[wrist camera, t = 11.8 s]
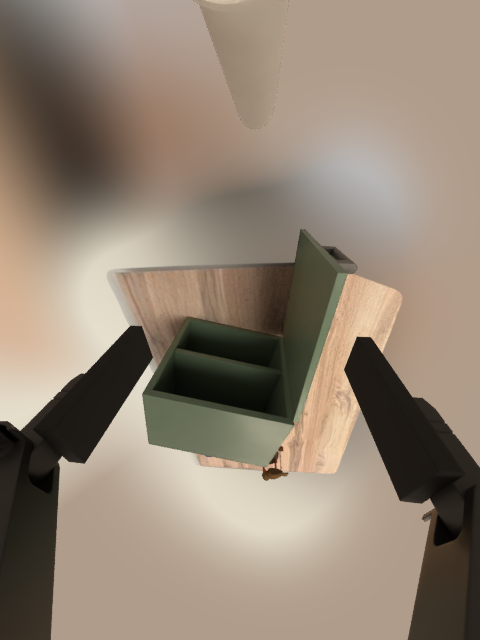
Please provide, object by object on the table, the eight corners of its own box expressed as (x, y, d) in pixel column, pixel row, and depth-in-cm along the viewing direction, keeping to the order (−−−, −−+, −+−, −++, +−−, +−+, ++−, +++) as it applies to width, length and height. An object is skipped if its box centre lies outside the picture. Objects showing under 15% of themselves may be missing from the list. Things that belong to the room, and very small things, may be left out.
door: (336, 230, 39) (411, 276, 19) (307, 337, 54) (333, 426, 34) (300, 229, 40) (337, 272, 20) (282, 335, 54) (292, 422, 34)
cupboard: (187, 316, 54) (141, 394, 34) (283, 337, 55) (294, 425, 34) (185, 362, 64) (148, 444, 44) (265, 379, 65) (266, 467, 45)
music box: (285, 410, 73) (290, 478, 57) (282, 424, 79) (287, 489, 64) (242, 407, 74) (237, 473, 59) (244, 422, 81) (239, 484, 65)
